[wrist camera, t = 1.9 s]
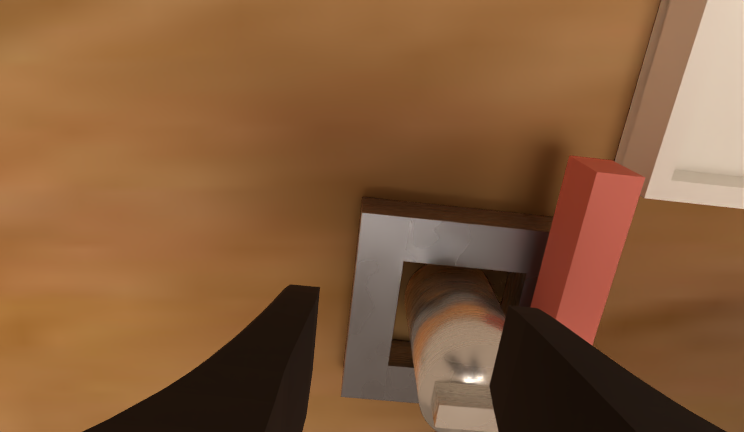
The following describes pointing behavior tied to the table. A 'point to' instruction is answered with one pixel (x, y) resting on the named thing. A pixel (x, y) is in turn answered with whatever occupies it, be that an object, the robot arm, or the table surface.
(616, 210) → the bar
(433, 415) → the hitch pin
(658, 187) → the tray
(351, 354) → the grey flat square ring
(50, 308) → the table surface
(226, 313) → the table surface
